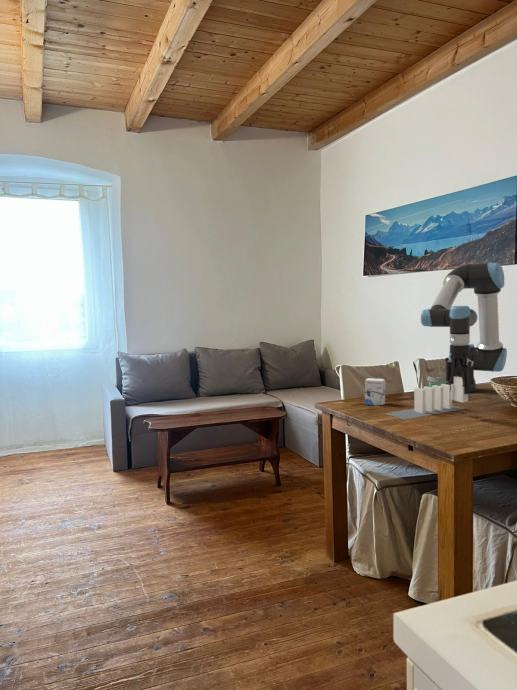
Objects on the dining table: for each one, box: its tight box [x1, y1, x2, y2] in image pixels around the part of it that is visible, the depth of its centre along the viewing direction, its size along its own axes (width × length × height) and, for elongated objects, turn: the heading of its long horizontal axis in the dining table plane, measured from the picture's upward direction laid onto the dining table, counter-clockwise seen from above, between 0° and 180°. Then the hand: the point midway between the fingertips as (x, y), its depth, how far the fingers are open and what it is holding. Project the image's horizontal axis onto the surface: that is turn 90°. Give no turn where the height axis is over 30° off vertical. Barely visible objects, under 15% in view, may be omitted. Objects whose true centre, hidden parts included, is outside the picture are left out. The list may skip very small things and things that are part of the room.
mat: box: [384, 404, 466, 421], centre depth 224 cm, size 34×12×1 cm, turn 115°
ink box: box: [364, 377, 386, 406], centre depth 242 cm, size 9×5×12 cm, turn 65°
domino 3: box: [432, 385, 443, 410], centre depth 226 cm, size 2×5×10 cm, turn 25°
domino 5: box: [452, 376, 463, 403], centre depth 214 cm, size 2×5×10 cm, turn 25°
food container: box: [426, 374, 450, 388], centre depth 252 cm, size 12×6×10 cm, turn 42°
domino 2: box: [422, 386, 435, 412], centre depth 224 cm, size 2×5×10 cm, turn 26°
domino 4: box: [441, 384, 453, 409], centre depth 228 cm, size 2×5×10 cm, turn 25°
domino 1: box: [413, 387, 426, 413], centre depth 222 cm, size 2×5×10 cm, turn 25°
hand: (459, 400), depth 214 cm, fingers closed on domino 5, 5 cm apart
